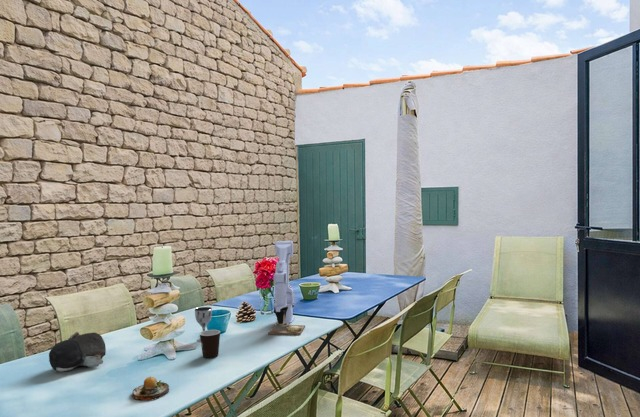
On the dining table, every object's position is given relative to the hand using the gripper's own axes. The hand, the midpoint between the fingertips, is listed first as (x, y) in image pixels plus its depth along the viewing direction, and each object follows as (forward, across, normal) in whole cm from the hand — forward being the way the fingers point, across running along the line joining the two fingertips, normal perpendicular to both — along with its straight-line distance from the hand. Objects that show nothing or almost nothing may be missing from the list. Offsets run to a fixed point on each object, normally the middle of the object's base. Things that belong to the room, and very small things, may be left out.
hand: (281, 322), depth 223 cm
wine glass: (+4, +18, -34) cm, 39 cm away
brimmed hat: (+4, +77, -28) cm, 82 cm away
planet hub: (+2, 0, 0) cm, 2 cm away
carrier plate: (+4, +1, +3) cm, 5 cm away
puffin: (+4, +55, -72) cm, 91 cm away
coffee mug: (+4, +38, -22) cm, 44 cm away
